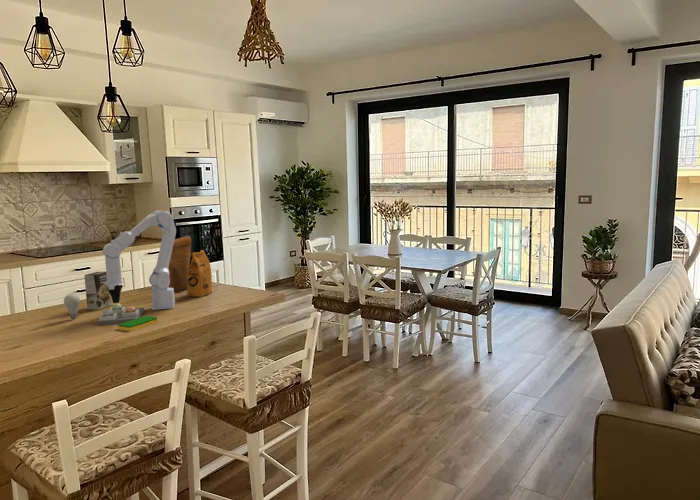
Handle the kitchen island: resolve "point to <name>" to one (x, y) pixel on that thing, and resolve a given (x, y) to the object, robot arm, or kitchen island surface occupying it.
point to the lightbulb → (72, 304)
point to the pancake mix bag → (179, 264)
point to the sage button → (116, 307)
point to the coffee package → (199, 275)
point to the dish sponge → (137, 323)
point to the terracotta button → (130, 309)
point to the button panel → (120, 316)
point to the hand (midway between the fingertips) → (116, 302)
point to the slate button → (107, 313)
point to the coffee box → (97, 291)
